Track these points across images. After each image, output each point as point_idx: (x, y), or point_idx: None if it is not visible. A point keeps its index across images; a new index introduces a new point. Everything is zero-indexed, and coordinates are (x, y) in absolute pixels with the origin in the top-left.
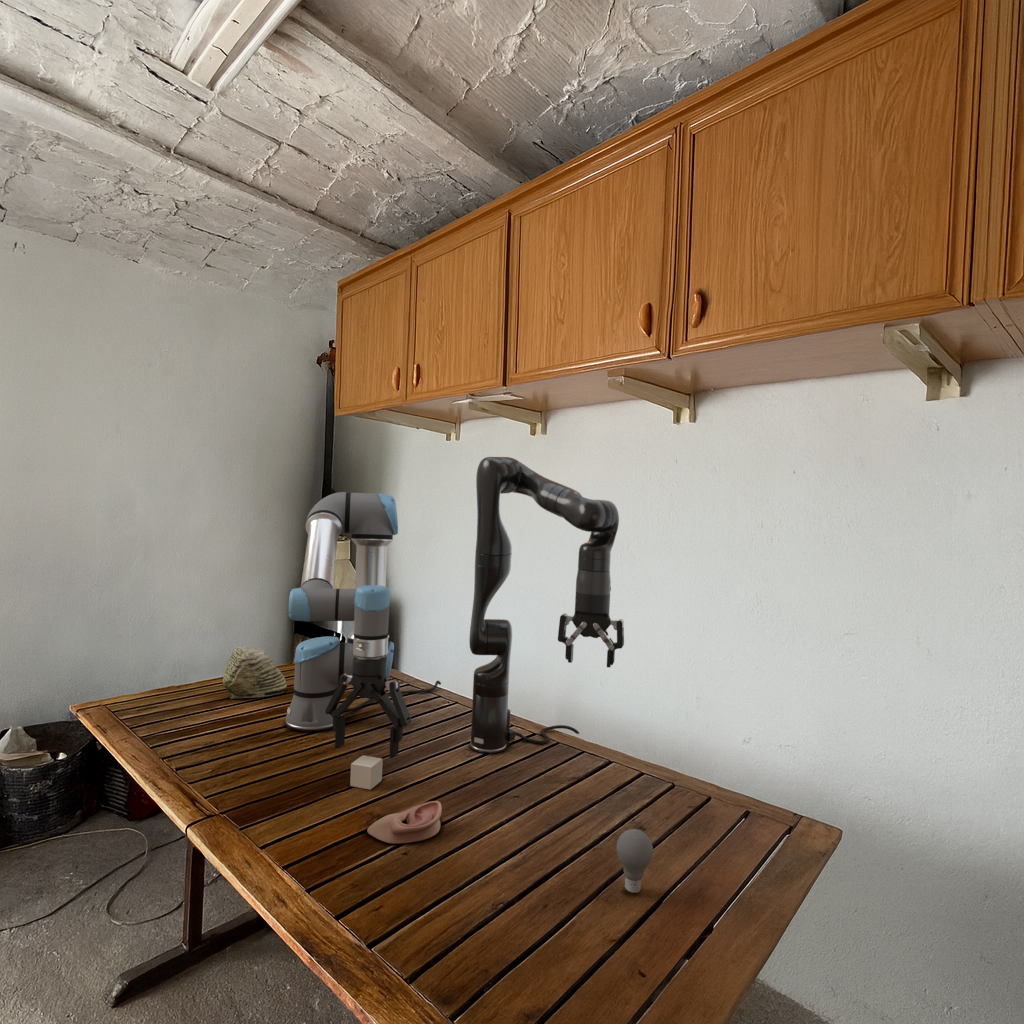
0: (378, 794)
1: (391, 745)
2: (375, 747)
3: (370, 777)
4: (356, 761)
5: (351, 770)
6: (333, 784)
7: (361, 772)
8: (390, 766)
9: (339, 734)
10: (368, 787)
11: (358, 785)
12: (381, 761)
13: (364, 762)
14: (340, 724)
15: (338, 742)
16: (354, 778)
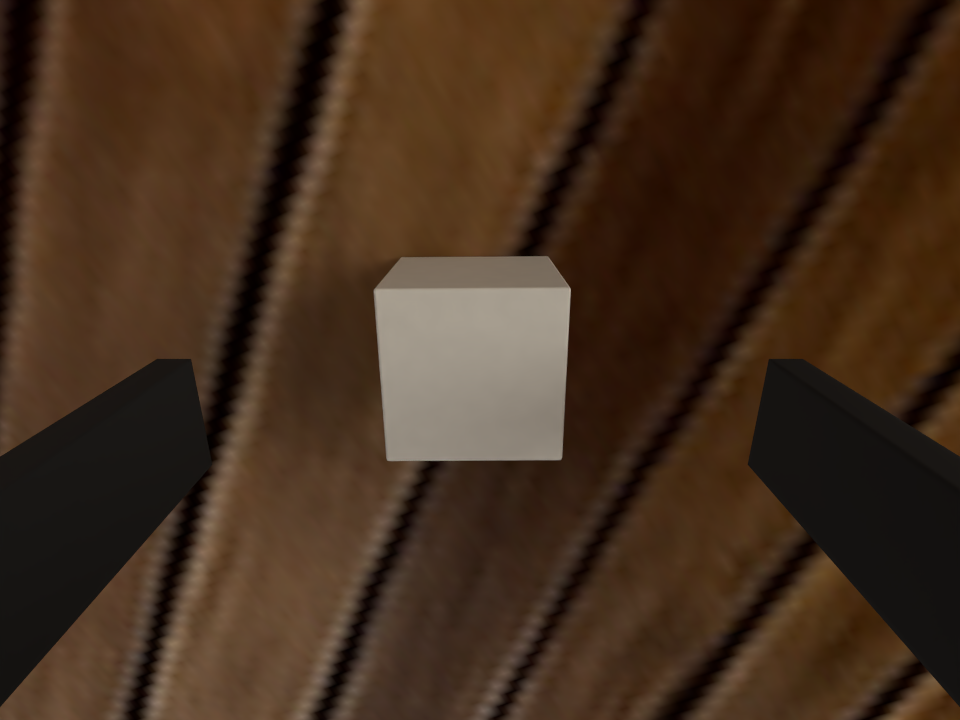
0: (322, 223)
1: (89, 413)
2: (646, 699)
3: (392, 273)
4: (548, 342)
5: (555, 275)
6: (659, 235)
7: (467, 276)
8: (458, 552)
9: (851, 446)
10: (413, 258)
11: (487, 257)
12: (387, 437)
13: (478, 351)
14: (949, 541)
15: (799, 389)
16: (522, 265)
